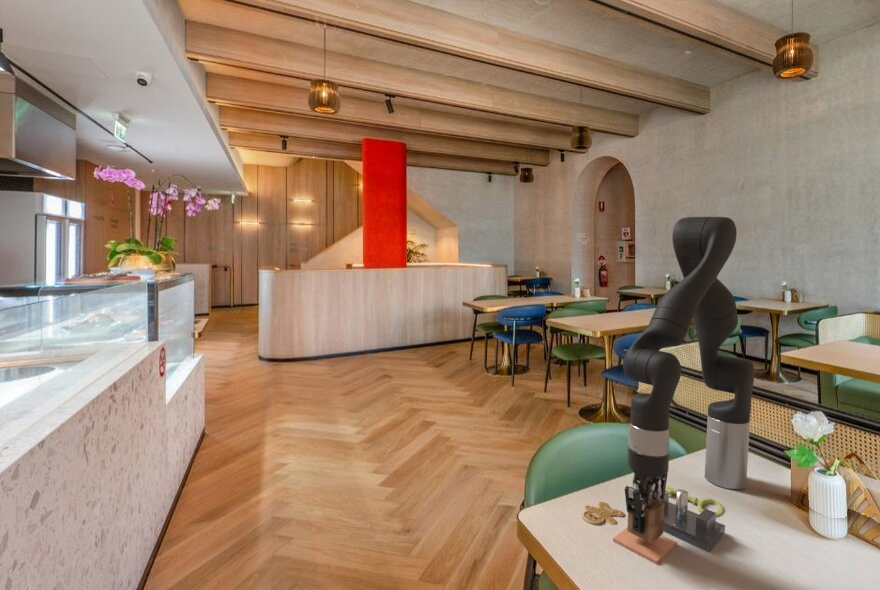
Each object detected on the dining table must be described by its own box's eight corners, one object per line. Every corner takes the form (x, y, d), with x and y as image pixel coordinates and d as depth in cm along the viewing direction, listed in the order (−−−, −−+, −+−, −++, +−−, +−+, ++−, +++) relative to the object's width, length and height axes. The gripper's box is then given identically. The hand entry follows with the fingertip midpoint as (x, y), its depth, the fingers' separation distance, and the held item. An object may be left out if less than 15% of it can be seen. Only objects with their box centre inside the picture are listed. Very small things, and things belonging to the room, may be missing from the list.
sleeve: (639, 522, 93) (640, 493, 92) (663, 533, 89) (664, 503, 88) (627, 531, 90) (628, 501, 89) (651, 543, 86) (653, 512, 85)
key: (664, 492, 110) (665, 484, 109) (722, 506, 103) (723, 498, 103) (663, 506, 103) (663, 498, 103) (724, 522, 97) (724, 513, 97)
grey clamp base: (657, 505, 103) (659, 473, 102) (724, 534, 92) (726, 498, 92) (639, 519, 97) (640, 485, 97) (708, 552, 86) (710, 514, 86)
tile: (634, 524, 96) (634, 521, 96) (676, 544, 89) (676, 542, 89) (612, 540, 90) (612, 538, 90) (656, 564, 83) (656, 561, 83)
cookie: (630, 514, 99) (602, 528, 93) (630, 518, 99) (602, 532, 93) (599, 497, 106) (571, 510, 100) (599, 501, 106) (571, 514, 100)
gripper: (646, 432, 95) (643, 505, 97) (612, 450, 86) (610, 531, 88) (682, 443, 89) (679, 521, 91) (650, 463, 80) (647, 550, 82)
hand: (645, 525), depth 89 cm, fingers closed on sleeve, 5 cm apart
